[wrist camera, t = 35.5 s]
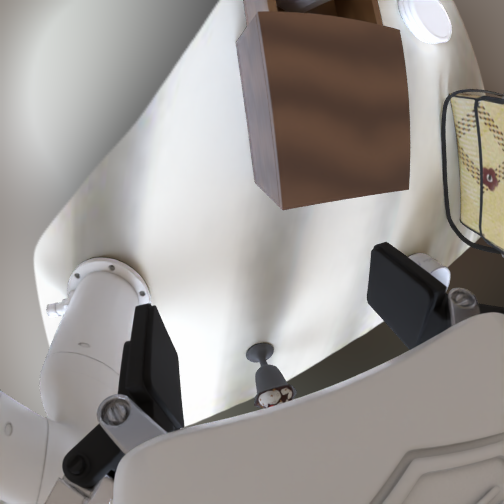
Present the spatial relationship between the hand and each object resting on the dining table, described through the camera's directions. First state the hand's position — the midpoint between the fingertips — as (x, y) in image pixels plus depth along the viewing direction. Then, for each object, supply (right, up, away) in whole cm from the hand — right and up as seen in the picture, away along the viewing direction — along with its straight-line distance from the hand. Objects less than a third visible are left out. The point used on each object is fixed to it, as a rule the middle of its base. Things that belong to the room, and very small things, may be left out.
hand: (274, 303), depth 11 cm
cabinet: (+5, +20, +19) cm, 28 cm away
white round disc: (+25, +39, +14) cm, 49 cm away
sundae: (0, -15, +36) cm, 39 cm away
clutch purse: (+35, +18, +27) cm, 48 cm away
